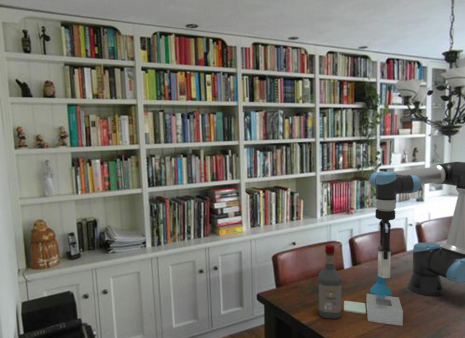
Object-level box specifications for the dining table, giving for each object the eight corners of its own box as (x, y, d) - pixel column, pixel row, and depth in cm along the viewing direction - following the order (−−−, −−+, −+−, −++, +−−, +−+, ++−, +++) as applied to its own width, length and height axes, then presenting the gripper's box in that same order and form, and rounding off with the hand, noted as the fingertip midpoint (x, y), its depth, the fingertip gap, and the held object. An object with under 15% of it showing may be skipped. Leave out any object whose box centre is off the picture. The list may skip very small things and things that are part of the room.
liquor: (341, 319, 147) (342, 249, 144) (319, 318, 148) (319, 248, 145) (339, 309, 156) (339, 243, 153) (317, 307, 157) (318, 242, 154)
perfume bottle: (389, 307, 156) (390, 274, 155) (368, 302, 161) (368, 271, 159) (392, 299, 164) (393, 268, 162) (372, 294, 169) (372, 264, 167)
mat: (365, 304, 159) (365, 303, 159) (365, 314, 151) (365, 312, 151) (344, 301, 162) (344, 300, 162) (344, 311, 154) (344, 309, 154)
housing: (398, 310, 153) (398, 297, 153) (402, 325, 141) (402, 311, 140) (366, 306, 157) (366, 293, 157) (367, 321, 145) (368, 307, 144)
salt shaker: (390, 274, 149) (390, 246, 148) (391, 278, 144) (391, 250, 143) (377, 273, 151) (377, 245, 150) (377, 277, 146) (378, 249, 145)
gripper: (374, 204, 155) (373, 256, 157) (377, 213, 137) (376, 270, 140) (392, 205, 152) (391, 257, 154) (398, 214, 135) (397, 272, 137)
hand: (384, 263), depth 147 cm, fingers closed on salt shaker, 5 cm apart
